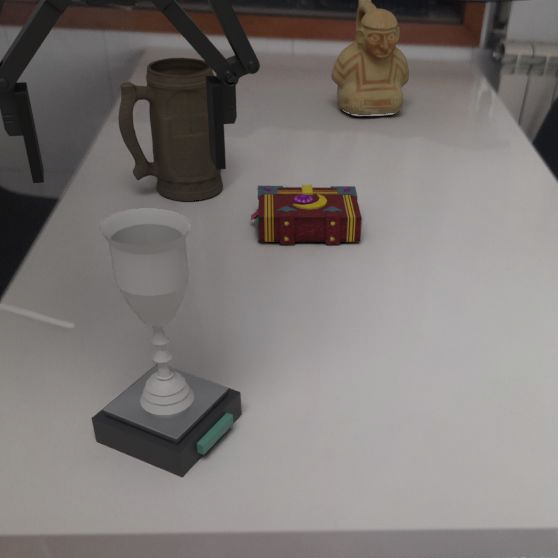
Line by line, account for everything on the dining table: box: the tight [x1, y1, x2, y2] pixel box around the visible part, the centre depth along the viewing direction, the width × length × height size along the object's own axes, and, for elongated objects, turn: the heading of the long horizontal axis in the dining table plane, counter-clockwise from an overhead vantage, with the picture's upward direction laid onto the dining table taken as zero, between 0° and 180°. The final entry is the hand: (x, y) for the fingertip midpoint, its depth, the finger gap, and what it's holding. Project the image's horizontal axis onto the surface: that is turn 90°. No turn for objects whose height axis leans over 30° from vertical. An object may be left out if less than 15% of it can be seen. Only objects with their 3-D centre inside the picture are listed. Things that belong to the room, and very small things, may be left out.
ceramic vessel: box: [330, 0, 410, 115], centre depth 151 cm, size 17×20×25 cm
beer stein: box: [118, 57, 224, 202], centre depth 112 cm, size 15×11×20 cm
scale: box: [91, 363, 243, 478], centre depth 70 cm, size 11×10×3 cm
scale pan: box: [102, 364, 230, 444], centre depth 69 cm, size 8×8×1 cm
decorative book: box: [250, 184, 363, 246], centre depth 107 cm, size 11×16×5 cm
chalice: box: [99, 207, 194, 415], centre depth 63 cm, size 7×7×18 cm
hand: (131, 169), depth 56 cm, fingers open, 13 cm apart
